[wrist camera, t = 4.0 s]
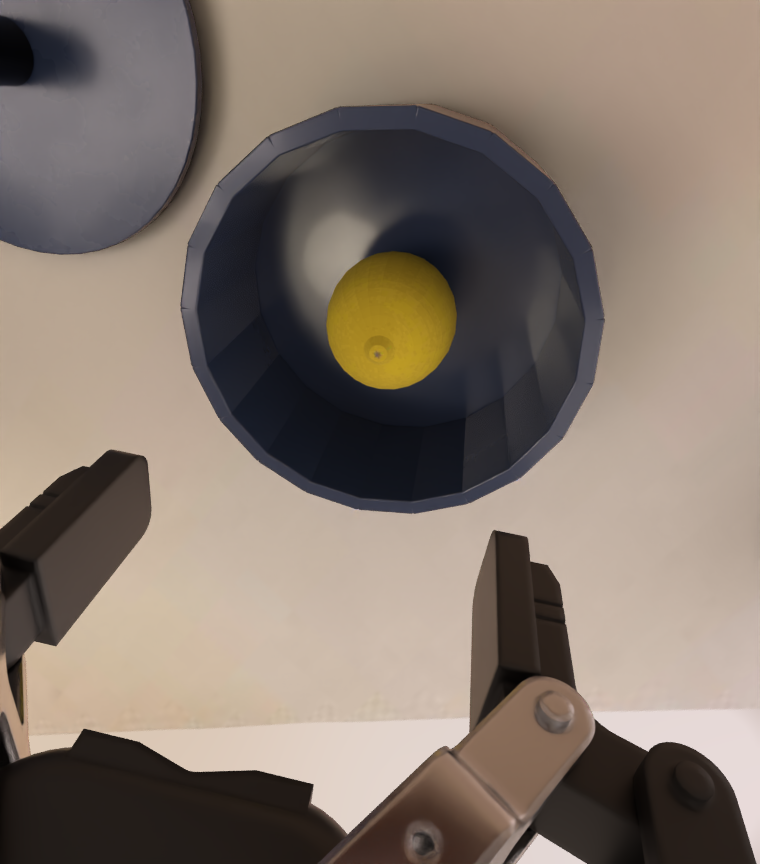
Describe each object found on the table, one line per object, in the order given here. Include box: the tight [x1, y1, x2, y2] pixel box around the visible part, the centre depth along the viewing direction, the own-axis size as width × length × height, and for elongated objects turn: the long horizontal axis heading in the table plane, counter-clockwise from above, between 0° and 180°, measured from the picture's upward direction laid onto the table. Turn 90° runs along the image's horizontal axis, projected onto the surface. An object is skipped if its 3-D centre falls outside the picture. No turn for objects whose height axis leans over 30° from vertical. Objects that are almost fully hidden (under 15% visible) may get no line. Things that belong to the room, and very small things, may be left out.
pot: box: [181, 104, 605, 514], centre depth 26 cm, size 16×16×7 cm
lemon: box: [326, 251, 457, 389], centre depth 25 cm, size 6×6×8 cm
